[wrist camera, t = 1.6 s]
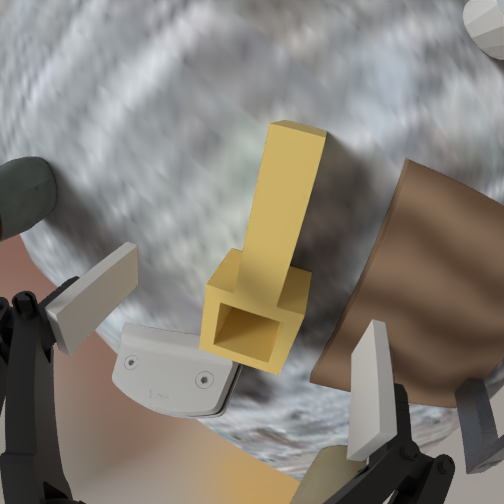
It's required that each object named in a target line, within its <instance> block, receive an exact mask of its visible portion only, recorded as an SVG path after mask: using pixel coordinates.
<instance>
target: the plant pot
mask: <svg viewBox="0 0 504 504" xmlns="http://www.w3.org/2000/svg"><path fill="white" fill-rule="evenodd" d="M347 449H348V446H331V447H327V448H324V449H322V450H321V451H320V452H319V454H318V455H317V457H316V458H315V460H314V461H313V463H312V464H311V466H310V468H309V469H308V471H307V473H306V474H305V476H304V478H303V480H302V482H301V483H300V485H299V487H298V489H297V491H296V493H295V495H294V496H293V499H292V501H291V503H290V504H322V503H324V502H325V501H326V500H327V499H329V498H330V497H331V496H332V495H334V494H335V493H336V492H337V491H338V490H340V489H341V488H342V487H343V486H344V485H345V484H347V483H348V482H349V481H350V480H351V479H352V478H353V477H354V476H355V475H357V474H358V472H357V471H359V470H360V469H362V468H363V467H365V464H364V461H354V460H347Z"/></svg>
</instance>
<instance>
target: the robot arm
mask: <svg viewBox="0 0 504 504" xmlns="http://www.w3.org/2000/svg"><path fill="white" fill-rule="evenodd" d="M137 286H138V245H135V244H132V243H130V242H126V243H124V244H123V245H122V246H120V247H119V248H118V249H116V250H115V251H114V252H112V253H111V254H110V255H108V256H107V257H106V258H104V259H103V260H102V261H101V262H99V263H98V264H97V265H96V266H94V267H93V268H92V269H90V270H89V271H88V272H87V273H85V274H84V275H83V276H82V277H78V276H76V277H73V278H71V279H68V280H67V281H66V282H64V283H63V284H62V285H61V286H59V287H58V288H57V289H56V291H53V292H52V293H51V294H50V295H49V296H47V297H46V298H45V299H44V300H43V301H41V303H39V304H38V303H37V300H36V296H35V295H34V294H33V293H32V292H30V291H22V292H20V293H18V294H16V295H15V296H14V297H13V299H12V304H13V307H10V305H9V302H8V300H7V299H6V298H4V297H0V415H1V411H2V407H3V403H4V399H5V396H6V402H5V440H6V451H5V452H4V453H2V454H1V456H0V471H1V480H2V487H3V494H4V500H5V504H86V503H84V502H82V501H79V502H78V501H75V500H73V498H72V494H71V490H70V487H69V484H68V482H67V480H66V478H65V476H64V474H63V469H62V464H61V458H60V451H59V444H58V437H57V428H56V419H55V418H56V417H55V403H54V380H53V379H54V378H53V355H54V350H53V345H54V343H55V342H57V345H58V348H59V350H60V351H62V352H63V353H65V354H66V355H68V356H71V355H72V354H73V353H74V352H75V351H76V350H77V348H78V347H79V346H80V345H81V344H82V343H83V342H84V341H85V340H86V339H87V338H88V337H89V335H90V334H91V333H92V332H93V331H94V330H95V329H96V328H97V327H98V326H99V325H100V324H101V323H102V322H103V321H104V319H105V318H106V317H107V316H108V315H109V314H110V313H111V312H112V311H113V310H114V309H115V308H116V307H117V306H118V305H119V304H120V303H121V302H122V301H123V300H124V299H125V298H126V297H127V296H128V295H129V294H130V293H131V292H132V291H133V290H134V289H135V288H136V287H137ZM368 457H369V464H368V465H366V466H365V467H363V468H362V469H360V470H359V471H357V472H358V474H357V475H355V476H354V477H353V478H352V479H351V480H350V481H349V482H348V483H347V484H345V485H344V486H343V487H342V488H341V489H340V490H338V491H337V492H336V493H335V494H334V495H332V496H331V497H330V498H329V499H327V500H326V501H325V502H324V503H322V504H383V502H384V501H385V500H386V499H387V498H388V497H389V496H390V495H391V494H392V492H393V491H394V490H395V491H394V493H393V495H392V496H391V498H390V500H389V502H388V504H443V503H444V501H445V498H446V496H447V493H448V490H449V487H450V484H451V481H452V478H453V475H454V472H455V464H454V461H453V459H452V458H451V457H450V456H448V455H445V454H442V455H439V456H438V457H436V458H432V457H430V456H427V455H425V454H423V453H421V452H420V450H419V447H418V445H417V444H416V443H415V442H414V441H412V436H411V423H410V412H409V405H408V394H407V392H406V390H405V388H404V386H403V384H397V383H393V375H392V367H391V359H390V351H389V344H388V337H387V331H386V325H385V322H381V321H377V320H374V319H372V321H371V322H370V324H369V326H368V328H367V329H366V331H365V333H364V335H363V336H362V338H361V340H360V341H359V343H358V345H357V346H356V348H355V350H354V351H353V353H352V354H351V403H350V422H349V437H348V449H347V460H354V461H363V460H365V459H366V458H368Z"/></svg>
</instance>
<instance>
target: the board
mask: <svg viewBox="0 0 504 504" xmlns="http://www.w3.org/2000/svg"><path fill="white" fill-rule="evenodd" d="M372 319H374V320H377V321H381V322H385V325H386V331H387V337H388V344H389V345H390V346H391V349H392V357H393V366H394V375H395V383H397V384H403V386H404V388H405V390H406V392H407V394H408V403H414V404H421V405H428V406H437V407H446V408H456V407H457V404H456V400H455V395H454V392H455V391H456V390H457V389H458V388H459V387H460V386H461V384H462V383H463V382H464V381H465V380H466V379H467V378H468V377H469V378H475V379H482V380H484V379H485V378H486V377H487V376H488V375H489V374H490V373H491V372H492V371H493V369H494V368H495V367H496V366H497V365H498V364H499V362H500V361H501V360H502V359H503V358H504V206H503V205H502V204H500V203H498V202H496V201H495V200H493V199H491V198H489V197H487V196H486V195H484V194H482V193H480V192H478V191H476V190H474V189H472V188H470V187H468V186H466V185H465V184H463V183H460V182H458V181H456V180H454V179H452V178H450V177H448V176H446V175H444V174H442V173H439V172H437V171H435V170H433V169H430V168H428V167H426V166H424V165H421V164H419V163H416V162H414V161H412V160H409V159H407V158H406V159H405V163H404V166H403V169H402V172H401V175H400V178H399V181H398V184H397V186H396V189H395V192H394V195H393V198H392V201H391V203H390V206H389V209H388V211H387V214H386V217H385V219H384V222H383V224H382V227H381V229H380V232H379V234H378V237H377V239H376V242H375V244H374V246H373V249H372V251H371V254H370V256H369V258H368V261H367V263H366V265H365V267H364V270H363V272H362V274H361V276H360V279H359V281H358V283H357V285H356V287H355V289H354V291H353V294H352V296H351V298H350V300H349V302H348V304H347V306H346V308H345V310H344V312H343V314H342V316H341V318H340V320H339V322H338V324H337V326H336V328H335V330H334V332H333V334H332V335H331V337H330V339H329V341H328V343H327V345H326V347H325V349H324V350H323V352H322V354H321V356H320V358H319V359H318V361H317V363H316V365H315V366H314V368H313V370H312V372H311V376H310V383H314V384H318V385H322V386H326V387H330V388H334V389H339V390H343V391H348V392H351V354H352V353H353V351H354V350H355V348H356V346H357V345H358V343H359V341H360V340H361V338H362V336H363V335H364V333H365V331H366V329H367V328H368V326H369V324H370V322H371V321H372Z"/></svg>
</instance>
